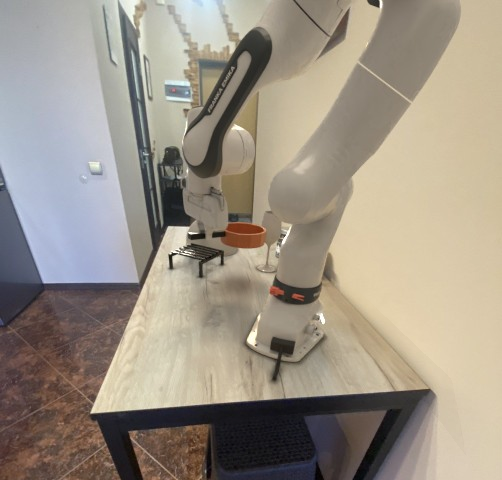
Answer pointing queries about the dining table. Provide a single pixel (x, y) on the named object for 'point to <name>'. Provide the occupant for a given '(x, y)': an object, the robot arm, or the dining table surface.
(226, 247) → the kettle
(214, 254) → the rack
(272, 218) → the wineglass
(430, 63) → the robot arm
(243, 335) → the dining table surface
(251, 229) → the pan
